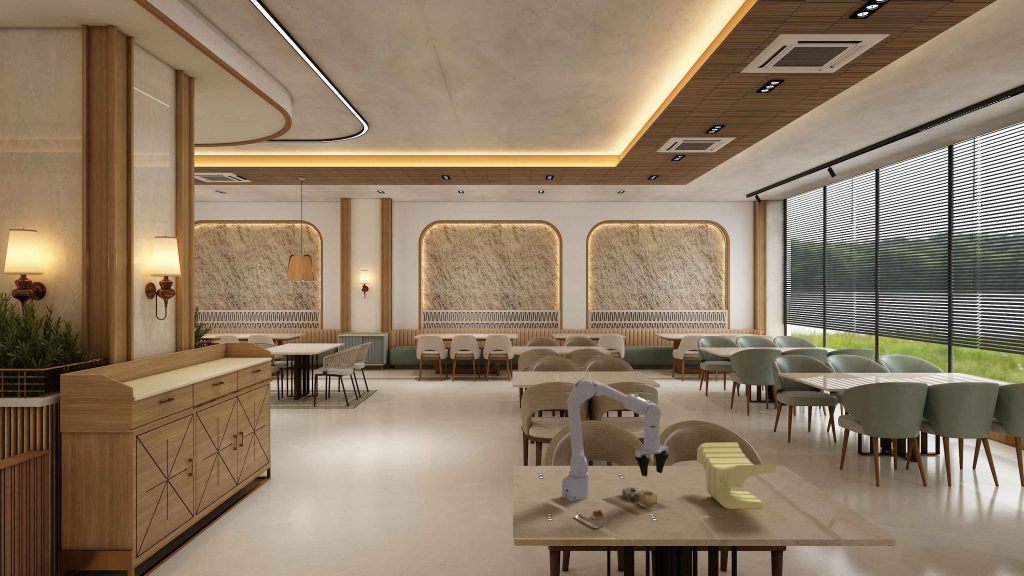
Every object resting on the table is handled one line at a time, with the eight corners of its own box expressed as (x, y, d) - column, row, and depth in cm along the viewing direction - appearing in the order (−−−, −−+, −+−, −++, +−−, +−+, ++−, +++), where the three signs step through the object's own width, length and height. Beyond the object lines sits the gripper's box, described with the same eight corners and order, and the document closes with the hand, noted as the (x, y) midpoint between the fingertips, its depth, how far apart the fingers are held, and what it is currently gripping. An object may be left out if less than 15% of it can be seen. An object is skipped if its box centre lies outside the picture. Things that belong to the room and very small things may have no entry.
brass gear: (648, 507, 209) (648, 496, 209) (637, 502, 213) (637, 492, 213) (658, 504, 211) (658, 494, 211) (648, 500, 215) (648, 490, 215)
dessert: (623, 524, 197) (623, 510, 197) (594, 531, 191) (594, 516, 191) (600, 512, 207) (600, 499, 207) (572, 519, 202) (572, 504, 202)
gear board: (636, 518, 201) (636, 503, 201) (601, 502, 216) (601, 488, 216) (668, 509, 209) (668, 495, 209) (632, 494, 224) (632, 481, 224)
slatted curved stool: (697, 488, 231) (697, 442, 232) (737, 488, 232) (737, 442, 233) (729, 518, 202) (729, 465, 202) (775, 517, 202) (775, 464, 203)
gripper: (645, 441, 210) (645, 480, 210) (674, 436, 218) (674, 473, 218) (631, 437, 216) (631, 475, 216) (659, 432, 224) (659, 468, 224)
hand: (651, 474), depth 217 cm, fingers open, 7 cm apart
